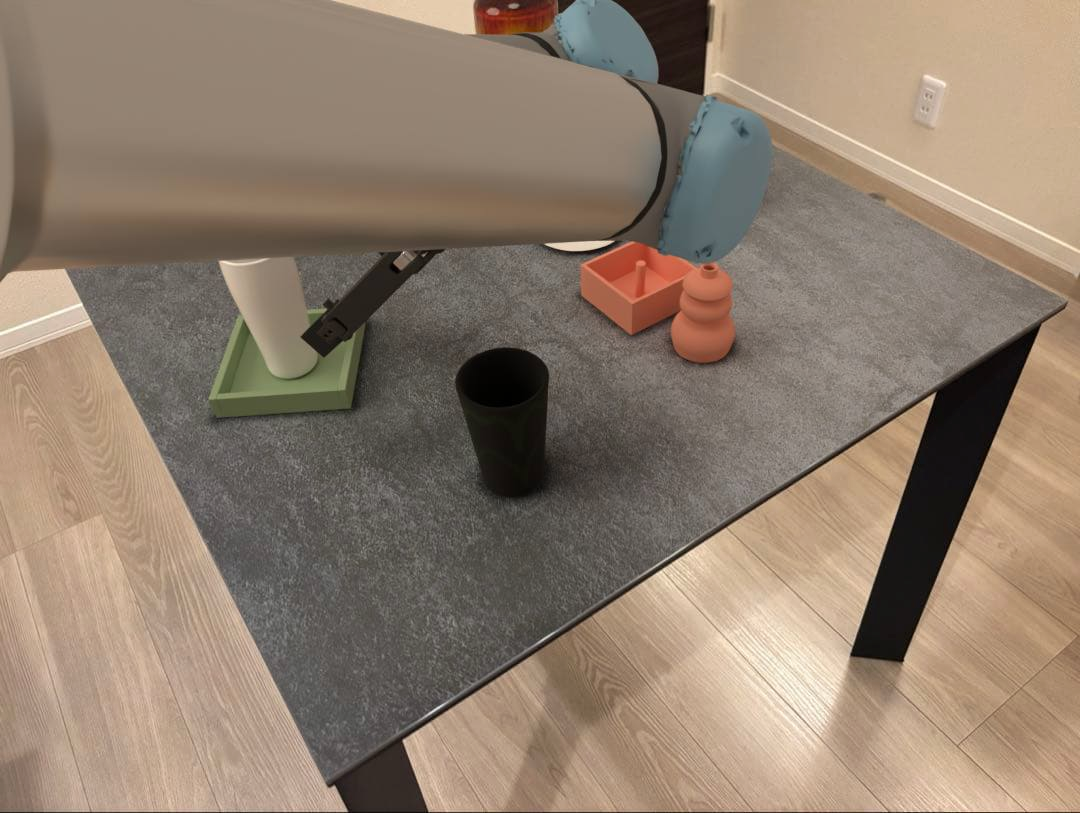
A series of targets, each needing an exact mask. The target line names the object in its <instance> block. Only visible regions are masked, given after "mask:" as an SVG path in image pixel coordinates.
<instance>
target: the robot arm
mask: <svg viewBox="0 0 1080 813" xmlns="http://www.w3.org/2000/svg"><path fill="white" fill-rule="evenodd" d="M772 163H773V141H772V136H771V132H770V129H769V128H768V125H767V123H766V121H765V120H764V119H763V118H762V116H760V115H758V114H757V113H756V112H754V111H752V110H749V109H747V108H743V107H740V106H737V105H734V104H731V103H728V102H725V101H722V100H719V98H718V96H713V95H709V94H706V95H705V96H704V95H701V94H697V93H693V92H689V91H686V90H683V89H679V88H674V87H671V86H667V85H664V84H660V83H659V64H658V60H657V56H656V53H655V51H654V48H653V46H652V44H651V42H650V40H649V39H648V37H647V35H646V32H645V31H644V30H643V28H642V27H641V25H640V24H639V23H638V22H637V21H636V20H635V18H634V17H633V16H632V15H631V14H630V13H629V12H628V11H627V10H626V9H625V8H623V7H622V6H621V5H619V3H617V2H615V1H613V0H574V1H573V3H572V4H570V5H569V6H568V7H567V8H566V9H564V11H562V12H560V13H558V14H557V16H556V17H555V18H554V22H553V24H552V25H551V26H550V27H549V28H548V29H547V30H545V31H543V32H541V33H516V34H510V35H489V34H476V33H474V34H471V33H461V32H456V31H454V30H453V31H452V30H450V29H444V28H441V27H437V26H434V25H429V24H425V23H421V22H418V21H413V20H409V19H405V18H402V17H398V16H394V15H390V14H387V13H382V12H379V11H374V10H371V9H367V8H363V7H359V6H355V5H351V4H347V3H344V2H339V1H336V0H0V283H1V282H2V281H3V280H4V279H5V278H6V277H7V276H8V274H11V273H15V272H33V271H54V270H55V271H56V270H71V269H72V270H73V269H91V268H107V267H109V268H110V267H129V266H130V267H131V266H150V265H166V264H167V265H169V264H185V263H203V262H204V263H205V262H218V261H226V260H245V259H264V258H283V257H295V258H299V257H301V258H302V257H318V256H320V257H321V256H336V255H355V254H375V253H378V254H379V255H380V257H379V258H378V259H377V260H376V261H375V263H373V265H371V267H370V268H369V269H368V270H367V271H366V272H365V273H364V274H363V275H362V276H361V277H360V278H359V279H358V280H357V281H356V283H354V284H353V285H352V287H350V289H349V290H348V291H347V292H345V294H344V295H343V296H342V297H341V298H340V299H338V298H337V299H335V301H334V302H333V301H332V300H331V298H327V299H326V300H325V301H324V302H323V303H322V306H323V307H324V308H326V309H327V310H326V311H325V312H324V313H323V314H322V315H321V316H320V317H319V318H318V319H317V320H316V321H315V322H314V323H313V324H312V325H311V326H310V327H309V328H308V329H307V330H306V331H305V332H304V333H303V334H302V335H301V338H302V339H303V340H304V341H305V342H306V343H307V344H309V345H310V346H311V347H312V348H313V349H314V350H315V351H316V352H318V353H319V354H320V355H321V356H322V357H323V358H325V357H326V356H327V355H328V354H329V353H330V352H331V351H332V350H333V349H335V348H336V347H337V346H338V345H339V344H340V343H341V342H342V341H344V342H345V341H346V342H347V341H348V340H350V339H351V338H352V337H353V334H354V333H355V332H356V331H357V330H358V329H359V328H360V327H361V326H362V325H363V324H364V323H366V322H367V321H368V320H369V319H370V318H371V317H372V316H373V315H374V314H375V313H376V312H377V311H378V310H379V309H380V308H381V307H382V306H383V305H384V304H385V303H386V302H387V300H389V299H390V298H391V297H392V296H393V295H394V294H395V293H396V292H397V291H398V290H399V289H400V288H401V287H402V286H403V285H404V284H405V283H406V282H407V281H408V280H409V279H410V278H411V277H413V275H417V274H419V273H420V272H421V271H422V270H423V269H424V268H425V267H426V266H427V265H428V263H430V262H431V260H433V258H435V257H436V255H438V254H442V253H444V252H445V251H446V250H449V249H471V248H489V247H490V248H491V247H507V246H509V247H510V246H527V245H545V244H548V243H567V242H586V241H614V242H617V241H621V242H622V241H627V242H632V241H633V242H637V243H641V244H644V245H646V246H649V247H651V248H653V249H656V250H658V253H659V254H661V255H663V256H667V255H672V256H675V257H679V258H682V259H684V260H686V261H688V262H689V261H690V262H693V263H696V264H700V265H702V264H708V263H716V262H718V261H720V260H722V259H723V258H725V257H726V256H728V255H729V254H730V253H731V252H732V251H733V250H734V249H735V248H736V247H737V246H738V245H739V244H740V243H741V242H742V241H743V239H744V238H745V236H746V234H747V233H748V231H749V230H750V228H751V226H752V224H753V222H754V221H755V219H756V217H757V214H758V212H759V209H760V207H761V205H762V203H763V200H764V197H765V194H766V190H767V186H768V184H769V179H770V176H771V170H772V165H773V164H772ZM423 255H424V256H423Z"/></svg>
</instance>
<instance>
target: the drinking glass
mask: <svg viewBox="0 0 1080 813" xmlns="http://www.w3.org/2000/svg"><path fill="white" fill-rule="evenodd" d="M296 260H297V259H296V257H283V258H264V259H245V260H226V261H217V262H218V265H219V268H220V272H221V274H222V276H223V279H224V282H225V284H226V287H227V288H228V291H229V293H230V295H231V297H232V299H233V301H234V303H235V305H236V307H237V309H238V311H239V313H240V315H242V317H243V319H244V320H245V322H246V324H247V326H248V328H249V330H250V332H251V334H252V336H253V338H254V340H255V342H256V344H257V346H258V348H259V350H260V352H261V354H262V356H263V358H264V360H265V363H266V365H267V368H268V370H269V371H270V372H271V373H272V374H273V375H274V376H276V377H279V378H283V379H292V378H297V377H300V376H303V375H305V374H306V373H308V372H309V371H311V370H312V369H313V368H314V366H315V365H316V363H317V361H318V352H316V351H315V350H314V349H313V348H312V347H311V346H310V345H309V344H307V343H306V342H305V341H304V340H303V339H302V338H301V335H302V334H303V333H304V332H305V331H306V330H307V329H308V328H309V327H310V326H311V325H310V321H309V316H308V311H307V310H308V308H307V303H306V297H305V292H304V288H303V284H302V278H301V275H300V271H299V268H298V264H297V261H296Z"/></svg>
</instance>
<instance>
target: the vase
mask: <svg viewBox="0 0 1080 813" xmlns="http://www.w3.org/2000/svg"><path fill="white" fill-rule="evenodd" d="M472 5H473V7H472V8H473V21H474V30H475V31H474V32H475V34H489V35H510V34H516V33H541V32H543V31H545V30H547V29H548V28H549V27H550V26H551V25H552V24H553V22H554V18H555V17H556V16H557V14H559V2H558V0H474V1H473V4H472Z"/></svg>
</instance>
